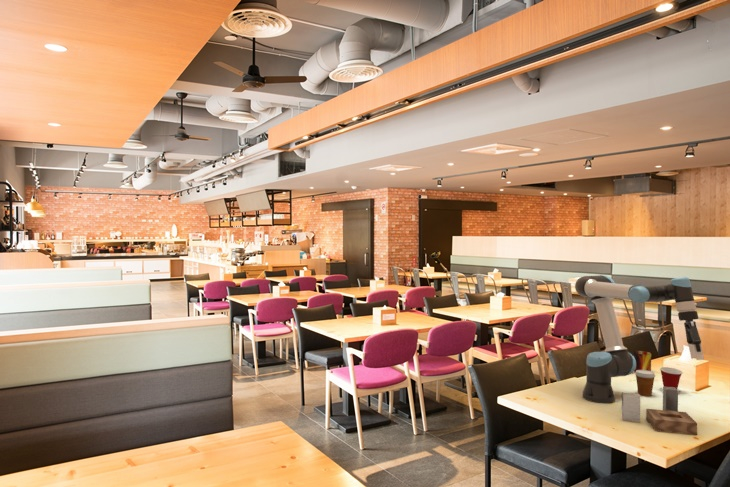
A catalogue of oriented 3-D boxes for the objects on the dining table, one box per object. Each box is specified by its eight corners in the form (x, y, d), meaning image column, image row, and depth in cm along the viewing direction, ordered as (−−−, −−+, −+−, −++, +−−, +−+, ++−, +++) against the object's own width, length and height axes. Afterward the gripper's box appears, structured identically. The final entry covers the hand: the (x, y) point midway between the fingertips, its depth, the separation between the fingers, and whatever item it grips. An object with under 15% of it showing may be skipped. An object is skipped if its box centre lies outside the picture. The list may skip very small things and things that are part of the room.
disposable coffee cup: (635, 395, 263) (636, 373, 263) (633, 390, 272) (633, 368, 272) (656, 398, 260) (656, 375, 259) (653, 392, 268) (653, 370, 268)
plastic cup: (673, 395, 264) (674, 373, 264) (654, 389, 274) (655, 368, 274) (687, 393, 268) (687, 370, 268) (668, 387, 278) (668, 366, 278)
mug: (630, 373, 307) (630, 354, 307) (635, 369, 318) (635, 350, 317) (648, 376, 301) (648, 356, 301) (652, 371, 311) (652, 352, 311)
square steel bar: (665, 414, 235) (666, 389, 235) (662, 411, 240) (662, 386, 240) (677, 415, 234) (678, 390, 234) (674, 412, 239) (674, 387, 238)
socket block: (654, 430, 215) (654, 419, 215) (646, 419, 229) (646, 408, 229) (697, 435, 211) (697, 423, 211) (685, 423, 224) (686, 412, 224)
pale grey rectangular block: (623, 420, 228) (623, 394, 227) (621, 418, 230) (621, 392, 230) (640, 422, 226) (640, 395, 225) (638, 419, 228) (638, 393, 228)
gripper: (701, 309, 215) (713, 359, 210) (692, 311, 237) (702, 357, 232) (681, 311, 218) (692, 360, 213) (673, 313, 240) (683, 358, 235)
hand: (697, 359), depth 223 cm, fingers open, 13 cm apart
